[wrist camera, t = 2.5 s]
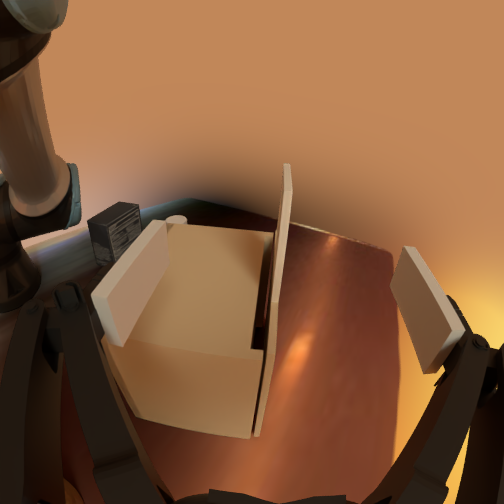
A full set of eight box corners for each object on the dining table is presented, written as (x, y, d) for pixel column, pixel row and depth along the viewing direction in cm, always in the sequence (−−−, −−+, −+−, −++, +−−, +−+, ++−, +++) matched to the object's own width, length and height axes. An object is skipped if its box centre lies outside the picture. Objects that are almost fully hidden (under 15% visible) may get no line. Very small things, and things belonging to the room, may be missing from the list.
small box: (124, 241, 64) (118, 200, 59) (146, 247, 63) (141, 203, 57) (95, 264, 56) (85, 219, 50) (116, 272, 54) (107, 224, 49)
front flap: (253, 436, 28) (284, 227, 15) (265, 321, 45) (283, 151, 32) (259, 436, 28) (296, 228, 15) (269, 321, 45) (288, 151, 32)
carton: (135, 416, 29) (92, 329, 21) (177, 311, 46) (167, 222, 38) (249, 439, 29) (262, 360, 20) (262, 322, 46) (273, 232, 37)
